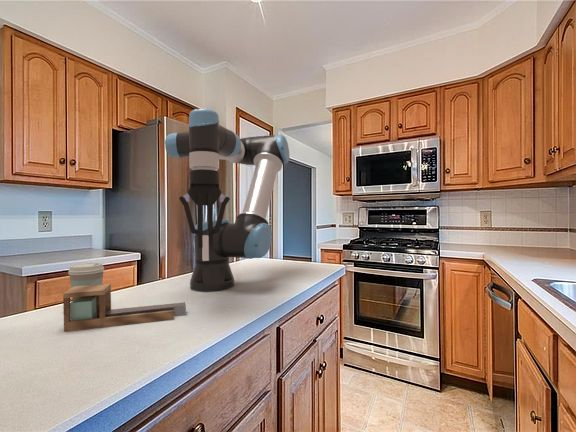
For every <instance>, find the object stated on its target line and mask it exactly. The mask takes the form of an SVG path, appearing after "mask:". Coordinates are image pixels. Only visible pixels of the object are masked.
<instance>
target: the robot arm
mask: <svg viewBox="0 0 576 432" xmlns="http://www.w3.org/2000/svg"><path fill="white" fill-rule="evenodd" d="M188 119H189V120H188V131H181V132H178V131H176V132H173V133H169V134H168V135H167V136H166V137H165V140H164V148H165V151H166V153H167V154H168V155H169V156H170V157H172V158H173V159H183V158H189V163H188V165H189V166H188V167H189V169H190V170H189V188H188V190H187V193H185V194H184V195H182V196H180V197H179V201H180V203H181V204H182V205H183V209H184V211H185V215H186V219H187V223H188V226H189V227H188V228H189V231H190V233H191V234H193V237H194V268H193V271H192V275H191V278H190V281H189V288H190V289H191V290H193V291H197V292H217V291H223V290H227V289H230V288H233V287H234V286H235V278H234V275H233V271H232V269H231V266H230V258H240V259H241V258H242V259H249V260H251V259H261V258H263V257H264V256H266V255H267V253H268V252H269V251H270V249H271V246H272V241H273V238H272V236H273V230H272V227H271V226H270V224H269V221H268V220H267V215H268V211H269V207H270V203H271V199H272V198H271V197H272V194H273V189H274V187H275V181H276V177H277V173H278V172H280V171H281V170H282V168H283V164H288V163H289V162H290V149H289V144H288V141H287V138H286V137H285V136H284V135H283V134H275V133H274V134H271V135H270V134H269V135H260V136H248V137H241V138H240V136H239V135H238V134H236V133H235V132H234V131H233V130H230V129H228V128H226V127H224V126H223V125H221V124H219V123H220V118H219V114H218V113H217V111H215V110H213V109H209V108H195V109H193V110H191V111H190V112H189V116H188ZM220 160H222V161H223V160H225V161H228V162H229V163H232V164H240V165H246V166H254V167H255V168H254V171H253V175H252V179H251V181H250V185H249V187H248V188H249V189H248V191H247V195H246V199H245V202H244V206H243V210H242V212H240V213H239V214H237V216H236V218H235V221H234V223H230V221H229V219H225V218H224V215H225V211H226V206H227V204H228V203H229V202H230V200H231V198H230V197H229V196H226V195H225V194H223V193H222V190H221V188H220V172H219V171H218V170H219V169H220ZM190 199H191V201H193V203H194V204H195V205H196V206H197V207H196V209H197V210H196V211H197V212H196V213H197V214H196V217H197V223H196V224H195V223H194V220H193V217H192V213H191V209H190V206H189V202H190ZM218 199H219V202H220V204H219V205H220V206H219V208H218V213H217V218H216V220H214V218H213V217H214V214H213V213H214V206H213V205H215V204H216V202H217V201H218ZM203 206H206V213H207V215H206V217H207V220H206V221H204V220H203V219H204V216H203V214H204V213H203V212H204V211H203V210H204V208H203Z"/></svg>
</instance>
